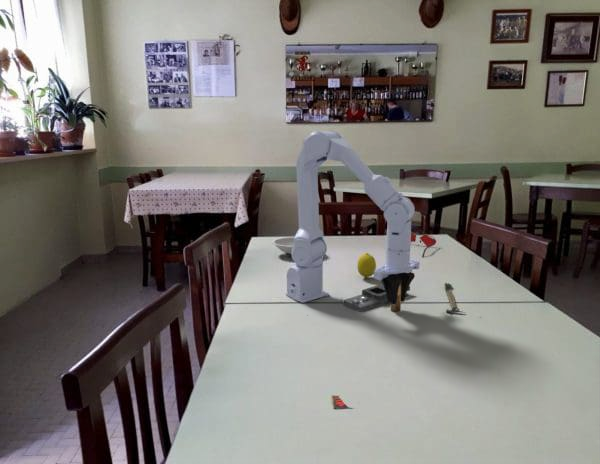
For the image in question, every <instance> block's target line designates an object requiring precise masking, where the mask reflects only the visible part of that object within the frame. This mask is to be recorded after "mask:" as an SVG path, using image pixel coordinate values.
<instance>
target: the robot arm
mask: <svg viewBox="0 0 600 464" xmlns="http://www.w3.org/2000/svg"><path fill="white" fill-rule="evenodd" d="M327 160H329V161H330V160H331V161H336V162H341V163H342V164H343V165H344V166H345V167H346V168H347V169H348V170H349V171H350V172H351V173H352V174H353V175H354V176H355V177H357V179H359V180H360V181H361V183H362V184H363V188H364V189H363V190H364V193H365V194H366V195H367V196H368V197H369V198H370V200H372V201H373V203H374V204H375V205H376V206H377V207H379V209H380V210H381V211H383V218H384V219H385V221H386V222H387V223H386V224H387V227H386V228H387V229H386V242H385V243H386V245H385V264H384V265H382V266H380V268H377V269H375V271H374V274H373V279H374V280H376V281H377V280H378V281H380V282H381V284H383V285H384V288H385V291H386V295H387V299H388V302H387V303H390V304H391V303H392V304H396V302H397V295H398V289H399V286H400V283H401V281H402V288H401V302H404V301H405V299H406V296H407V292H408V291H407V290H408V287H409V286H410V285H411V283H412V282H413V280H414V278H415V276H416V275H415V273H414V272H413V270H419V269H420V261H419V260H416V259H411V246H412V245H411V244H412V242H411V233H412V229H411V228H412V220H411V219H412V218H413V217H414V215H415V204H414V203H413V202H412V200H411V199H410V198H408V197H405V195H404V194H403V193H402V192H399V191H398V190H397V189H396V188H395V187H394V186H393V185H392V184H391V179H390V178H389V177H388V176H383V175H382V174H375V173H374V172H373V171H372V170H371V168H369V166H368V165H367V164H366V163H365V162H364V160H362V158H361V157H360V155H358V154H357V152H356V151H355V150H354V149H353V147H351V145H350V144H349V142H348V141H347V140H346V139H345V138H343V137H342V136H341V134H340V133H339V132H337V131H334V130H330V131H329V130H328V131H316V130H315V131H312V132H311V133H310V134H309V135H307V136H306V137H305V138H304V140H302V148H301V150H300V152H299V154H298V157H297V159H296V163H295V164H296V167H295V168H296V186H297V187H296V189H297V192H296V193H297V212H298V230H297V232H296V234H295V235H294V236H293V237H294V246H293V248H292V251H291V258H292V261H293V262H294V263H295V265H293V266H292V267H290V268H288V269H287V271H286V292H285V293H284V294H285V296H288V297H290V298H292V299H293V300H296V301H298V302H299V303H303V304H304V303H306V302H310V301H313V300H316V299H320V298H324V297H327V296H330V292H328V291H325V290H323V289H324V288H323V287H324V283H323V281H324V280H323V279H324V277H323V270H324V269H323V267H324V266H323V265H324V264H323V263H324V262H323V261H324V259H323V258H324V256H325V254H326V253H327V250H328V247H327V246H328V245H327V243H326V241H325V239H324V231H322V229H321V228H320V217H319V216H320V215H319V214H320V213H319V207H320V206H319V181H318V179H319V177H318V169H319V168H320V167H321V166H322V165H323V164H324V163H325V162H326V161H327Z"/></svg>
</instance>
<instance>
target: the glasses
mask: <svg viewBox="0 0 600 464" xmlns="http://www.w3.org/2000/svg"><path fill="white" fill-rule="evenodd" d="M418 235H419V236H420V237H419V242H420V244H422V243H423V244H424V246H426V247H425V248H424V250H423V252H422V255H421V258H424V256H425V253H426V251H427V249H429V248H430V247H432V246H434V245H436V243H437V240H436V238H435V237H434V236H432V235H430V234H420V233H412V232H411V243H416V239H417V236H418Z"/></svg>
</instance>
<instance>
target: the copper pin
mask: <svg viewBox="0 0 600 464" xmlns="http://www.w3.org/2000/svg"><path fill="white" fill-rule="evenodd" d="M401 288H402V281H401V283H400V286H399V289H398V295H397V302H396V304H392V303H390V312H392V313H400V312H401V309H402V307H401V305H402V304H401V303H402V301H401Z"/></svg>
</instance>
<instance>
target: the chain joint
mask: <svg viewBox="0 0 600 464" xmlns="http://www.w3.org/2000/svg"><path fill="white" fill-rule="evenodd" d="M408 291H411V286H410V285H409V287H408V290H407V292H408ZM386 303H389V302H388V299H387V295H386V291H385V288H384V285H383V283H381V284H378V285H374V286H371V287H367V288H364V289H362V290H361V294H359V295H355V296H352V297H350V298H346V299H343V305H344V306H346V307H348V308H351V309H353V310H355V311H358V312H363V311H366V310H369V309H372V308H374V307H377V306H380V305H383V304H386Z"/></svg>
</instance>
